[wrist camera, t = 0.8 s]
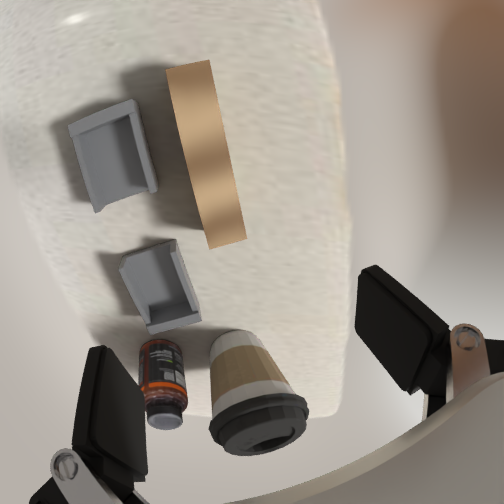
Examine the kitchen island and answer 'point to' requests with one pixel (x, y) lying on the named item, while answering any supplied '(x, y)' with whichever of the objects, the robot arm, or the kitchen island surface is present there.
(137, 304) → the cap
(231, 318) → the kitchen island surface
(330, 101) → the kitchen island surface
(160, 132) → the kitchen island surface
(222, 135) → the light wood rectangular block
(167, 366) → the supplement bottle
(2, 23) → the kitchen island surface
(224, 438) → the coffee cup
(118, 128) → the cap
